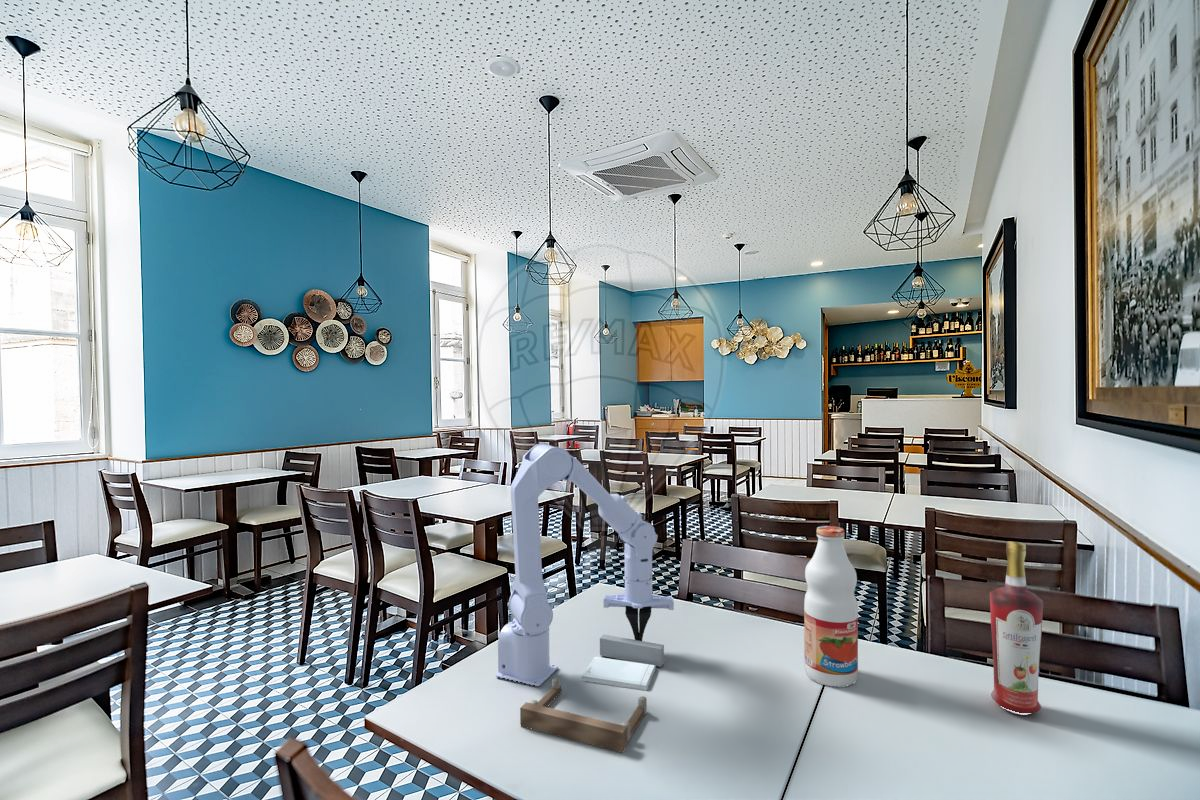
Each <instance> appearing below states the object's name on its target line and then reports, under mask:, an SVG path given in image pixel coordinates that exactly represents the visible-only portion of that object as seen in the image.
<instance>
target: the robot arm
mask: <svg viewBox="0 0 1200 800" xmlns="http://www.w3.org/2000/svg"><path fill="white" fill-rule="evenodd" d="M562 480H564V481H567V482H571V483H573V484H574V485H575V486H576V487H577V488H578V489H580V490H581V491H582V492H583V493H584V494H585V495H586V496H587V497H589V499H590V500H592V502H594V503H595V504H596V505H598V509H597V510H598V515H599V516H600V518H601V519H603V520H604V521H605V522H606V524H608V525H609V526H610V528H612V529H613V531H615V532H616V533H617V534H618V536H619V539H620V540H621V541H623V542H624V593H623V594H621V593H619V594H610V595H609V594H608V595H607V594H605V595H603V609H604V608H607V609H608V608H610V607H613V608H625V616H626V618H627V620H628V623H629V624H630V626H631V627H630V628H631V629H632V633H633V637H634V640H638V641H643V638H644V634H645V631H646V627H647V624H648V622H649V620H650V618H651V615H652V609H665V610H667V609H668V610H669V611H674V609H675V607H674V606H675V602H674V597H672V596H671V597H669V596H663V595H661V596H660V595H656V594H653V549H654V547H655V545H656V544H657V541H658V537H659V535H658V534H657V533H656V531H655V527H654V525H653V524H651V523H650V522H647V521H645V520H643V519H642V517H643V514H642V513H641V512H639V511H635V510H634V508H632V506H631V505H630V504H629V503H628V502H629V499H628V498H627V497H626V496H624V495H620V494H618V493H613V494H612V493H610V492H608V491H607V489H605V488H604V486H603V485H601V483H600V482H599V481H598V480H597V479H596V477H594V476H593V474H591V472H590V471H589V470H588V469H587V468H586V467H585V466H584V465H583V464H582V463H581V462H580V461H579V460H578V459H577V458H576V457H575V456H573V455H571V454H570V453H569V452H568V451H567V450H566V449H564V448H563V447H560V446H559V447H558V446H553V445H550V444H548V443H537V444H535V445H534V446H532V447H531V448H530V449H529V450H528V451H527V452H526V453H525V454H523V456H522V460H521V463H520V466H519V468H518V471H517V472H516V475H515V476H514V479H513V480H512V483H511V485H510V502H511V504H510V506H511V518H512V519H511V520H512V521H511V523H512V535H513V536H512V537H513V538H512V539H513V553H514V554H513V555H514V571H515V573H514V574H515V578H514V579H513V581H512V583H511V584H512V586H511V587H512V591H511V594H510V596H509V600H508V609H509V611H510V613H511V614H512V615H513V617H514V618H513V620H512V622H511V623H510V622H509V623H506V624H505V625H504V626H503V627H502V628H501V630H500V633H499V636H498V641H497V668H498V670H497V671H498V672H497V673H496V674H495V677H496V678H498V677H500V679H502V678H505V679H504V680H507V679H509V680H508V681H511V680H513V681H512V682H516V681H518V682H517V683H520V682H523V683H522V684H524V683H526V684H525V685H529V684H530V685H529V686H533V685H535V686H534V687H540V686H541V685H543V684H544V682H545V681H546V680H548V678H549V677H551V676H552V674H554V673H555V672H556V671H557V669H558V668H559V665H558V664H554V663H550V660H551V659H550V627H551V624H552V621H553V619H554V612H553V608H552V605H550V603H549V600H548V592H547V588H546V585H545V584H544V583H545V582H544V578H543V567H542V565H543V564H542V550H541V549H542V548H541V531H540V530H541V529H540V527H541V526H540V509H539V497H540V496H541V495H542V494H543V493H544V492H545V491H546V490H547V489H548V488H549V487H550V486H552V485H554V484H556V483H558V482H560V481H562Z"/></svg>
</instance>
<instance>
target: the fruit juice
mask: <svg viewBox="0 0 1200 800" xmlns="http://www.w3.org/2000/svg"><path fill="white" fill-rule="evenodd" d="M815 533H816V537H817V544H816V548H815V551H814V552H813V555H812V557H811V559H810V560H809V561H808V563H807V564H806V566H805V569H804V570H805V571H804V578H805V579H804V580H805V582H806V586H807V589H806V592H805V595H804V603H803V610H804V611H803V612H804V613H803V615H804V617H803V619H804V620H803V621H804V623H803V626H804V628H803V629H804V632H803V633H804V635H803V637H804V638H803V641H804V643H803V644H804V650H803V653H804V654H803V656H804V657H803V658H804V671H805V674H806V676H807V677H808V678H810V679H811V680H812V681H814V682H816V683H818V684H820V685H824V686H828V687H832V686H834V688H840V687H839V686H847V685H851V684H853V683H854V682H855V681H856V680H858V676H859V663H858V661H859V653H858V652H859V647H858V646H859V642H858V641H859V639H858V638H859V630H858V628H859V608H858V601H857V598H856V596H855V590H856V586H857V582H858V576H857V575H858V574H857V571H856V569H855V567H854V566H853V564H852V563H851V561H850V559H849V557H848V555H847V552H846V549H845V545H844V539H845V535H846V534H845V529H844V528H842V527H838V526H835V525H834V526H833V525H821V526H818V527H816V532H815ZM856 682H857V681H856ZM856 682H855V683H856ZM855 683H854V684H855ZM854 684H853V685H854ZM836 686H838V687H836ZM851 686H852V685H851ZM847 687H848V686H847Z"/></svg>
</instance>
